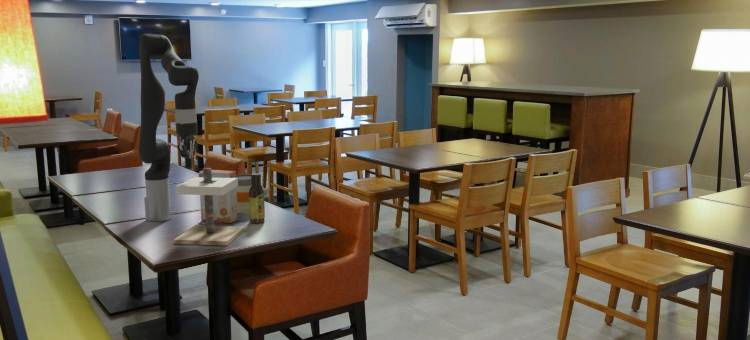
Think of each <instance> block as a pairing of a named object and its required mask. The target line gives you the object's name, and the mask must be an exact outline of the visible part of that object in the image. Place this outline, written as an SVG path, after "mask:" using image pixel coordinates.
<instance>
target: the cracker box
mask: <svg viewBox="0 0 750 340" xmlns="http://www.w3.org/2000/svg"><path fill="white" fill-rule="evenodd" d="M211 170H212V178H236V175H237V174H236V170H222V169H211ZM198 177H203V170H200V171H198ZM199 198H200V201H199V202H200V215H201V216H200V217H201V222H206V216H205V197H204V195H199ZM213 210H214V223H224V224H232V223H234V222H237V221H238V220H239V219H238V213H237V195H236V187H235V188H234V189H232V190H230V191H229V192H227V193H225V194H224V195H213Z"/></svg>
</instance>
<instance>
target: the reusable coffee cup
mask: <svg viewBox="0 0 750 340" xmlns="http://www.w3.org/2000/svg"><path fill="white" fill-rule="evenodd" d="M236 178H238V186H237V187H236V195H237V214H238V213H239V214H247V213H248V214H249V189H250V187H251V186H252V184H251V183H252V180H251V174H247V173H245V174H236Z"/></svg>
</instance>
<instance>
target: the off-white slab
mask: <svg viewBox="0 0 750 340" xmlns="http://www.w3.org/2000/svg"><path fill="white" fill-rule="evenodd" d="M237 186H238V178H212V184H209V183H204V178H203V177H199V176H195V177H192V178H190V179H188V180H186V181H184V182H182V183H179V184H177V185H176V186H175V190H176V192H175V193H176V195H186V196H187V195H190V196H191V195H194V196H195V195H196V196H200V195H224V194H225V193H227V192H229V191H230V190H232V189H234V188H235V187H237Z"/></svg>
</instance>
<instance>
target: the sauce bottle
mask: <svg viewBox="0 0 750 340" xmlns="http://www.w3.org/2000/svg"><path fill="white" fill-rule="evenodd" d="M250 175H251V180H252V183H251V184H252V186H251V187H250V189H249V213H248V216H249V217H248V218H249V222H250V223H251V224H260V223H264V222H265V217H266V215H265V214H266V213H265V211H266V210H265V207H266V206H265V192H264V188H263V187H262V182H261V181H262V180H261V179H262V173H257V172H256V173H251V174H250Z"/></svg>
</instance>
